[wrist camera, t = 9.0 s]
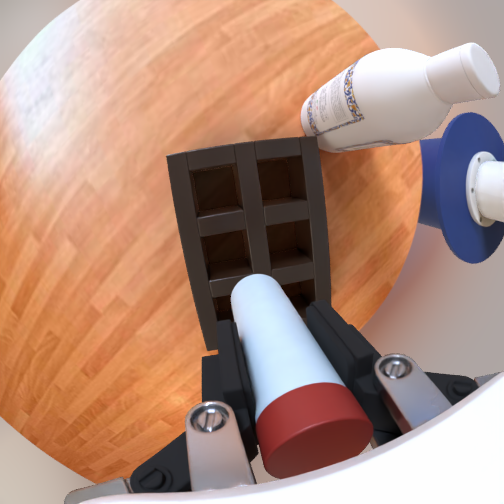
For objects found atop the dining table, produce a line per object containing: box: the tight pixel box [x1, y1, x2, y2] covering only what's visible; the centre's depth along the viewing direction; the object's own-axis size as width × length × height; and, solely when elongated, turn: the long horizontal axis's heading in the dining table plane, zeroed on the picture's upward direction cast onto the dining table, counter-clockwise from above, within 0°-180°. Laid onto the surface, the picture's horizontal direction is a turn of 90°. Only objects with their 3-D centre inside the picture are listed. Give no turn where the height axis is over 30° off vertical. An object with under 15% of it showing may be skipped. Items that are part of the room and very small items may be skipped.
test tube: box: [231, 274, 373, 479], centre depth 10 cm, size 3×3×10 cm
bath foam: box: [301, 43, 500, 153], centre depth 16 cm, size 7×7×20 cm
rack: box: [166, 136, 331, 351], centre depth 25 cm, size 12×18×5 cm
